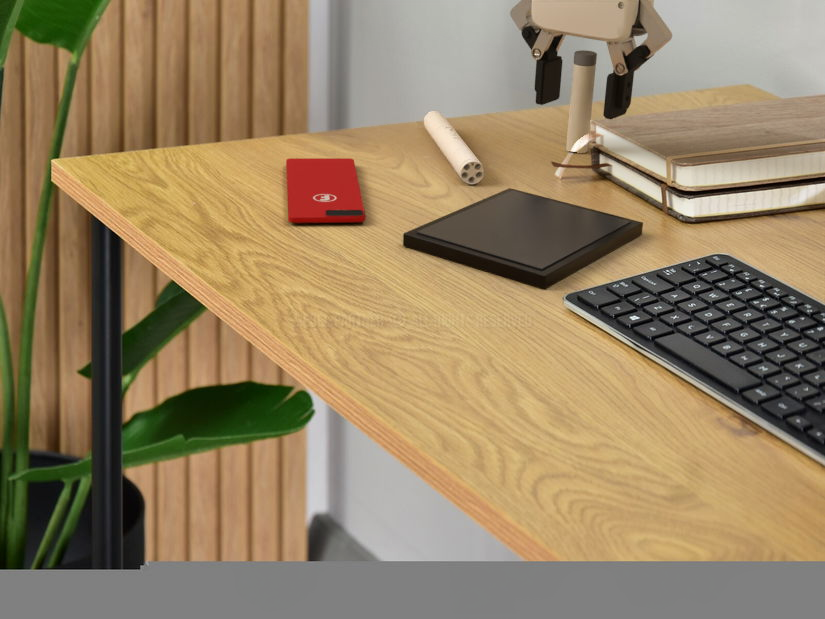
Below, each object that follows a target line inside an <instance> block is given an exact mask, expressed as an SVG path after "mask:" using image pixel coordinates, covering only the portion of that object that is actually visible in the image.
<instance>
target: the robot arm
mask: <svg viewBox="0 0 825 619" xmlns="http://www.w3.org/2000/svg"><path fill="white" fill-rule="evenodd" d="M509 15H510V18H511V19H512V20H513V22H514V24H515V25H516V27H517V28H518V30H519V31H520V32H521V36H522V38H523V40H524V42H525V43H526V44H527V46H528V48H529V49H530V56H531V58H533V60H535V61H536V62H535V77H534V91H535V104H536V105H540V106H543V105H546V104H549V103H552V102H555V101H557V100H559V99H560V96H561V84H562V72H563V58H562V56H561V55H558V52H559V50H560V48H561V46H562V44H563V42H564V40H565V37H566V36H571V37H577V38H583V39H589V40H594V41H601V42H606V47H607V50H608V52H609V57H610V60H611V64H612V68H613V70H612V73H608V75H607V77H606V85H605V92H604V93H605V94H604V103H603V104H604V105H603V114H602V115H603V118H605V119H607V120H613V118H614V119H616V118H619V117H621V116H623V115H626V113H627V111H628V109H629V108H630V106H631V103H632V96H633V94H632V93H633V87H634V79H635V78H634V76H635V72H636V71H638V70H640V68H641V67H642V66H643V65H644V64H645V63H647V61H648V60H650V59H651V58H653V56H654V55H655V54H656V53H658V52H659V51H660V50H661V49H662V48H663V47H664V46H665V45H667V44H668V43H669V42H670V41H671V40H672V38H673V33H672V31H671V30H670V28H669V27H668V25H667V24H666V22H665V21H664V20H663V19H662V17H661V15H659V12H657V9H655V0H520V1H519V2H517V4H516V5H515V6H514V7H512V8H511V9H510V11H509ZM644 35H647V37H646V39H645V40H644V41H643V42H642V43H641V44H640V45H638V46H637V43H636V40H635V37H642V36H644Z"/></svg>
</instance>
